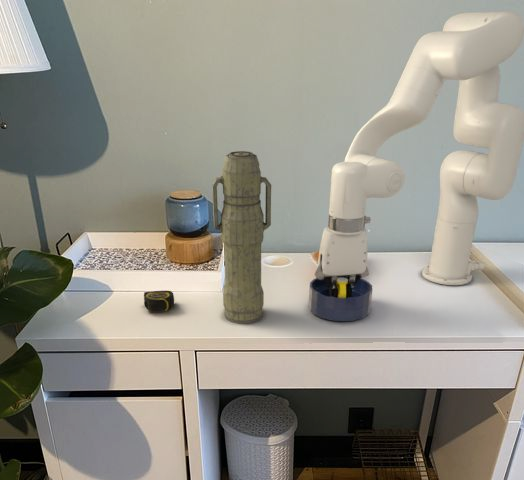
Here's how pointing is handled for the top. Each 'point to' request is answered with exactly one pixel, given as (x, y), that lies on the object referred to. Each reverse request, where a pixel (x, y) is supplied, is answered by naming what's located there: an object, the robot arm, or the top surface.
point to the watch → (341, 287)
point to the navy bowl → (340, 301)
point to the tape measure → (159, 301)
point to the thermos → (242, 234)
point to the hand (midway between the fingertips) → (339, 301)
